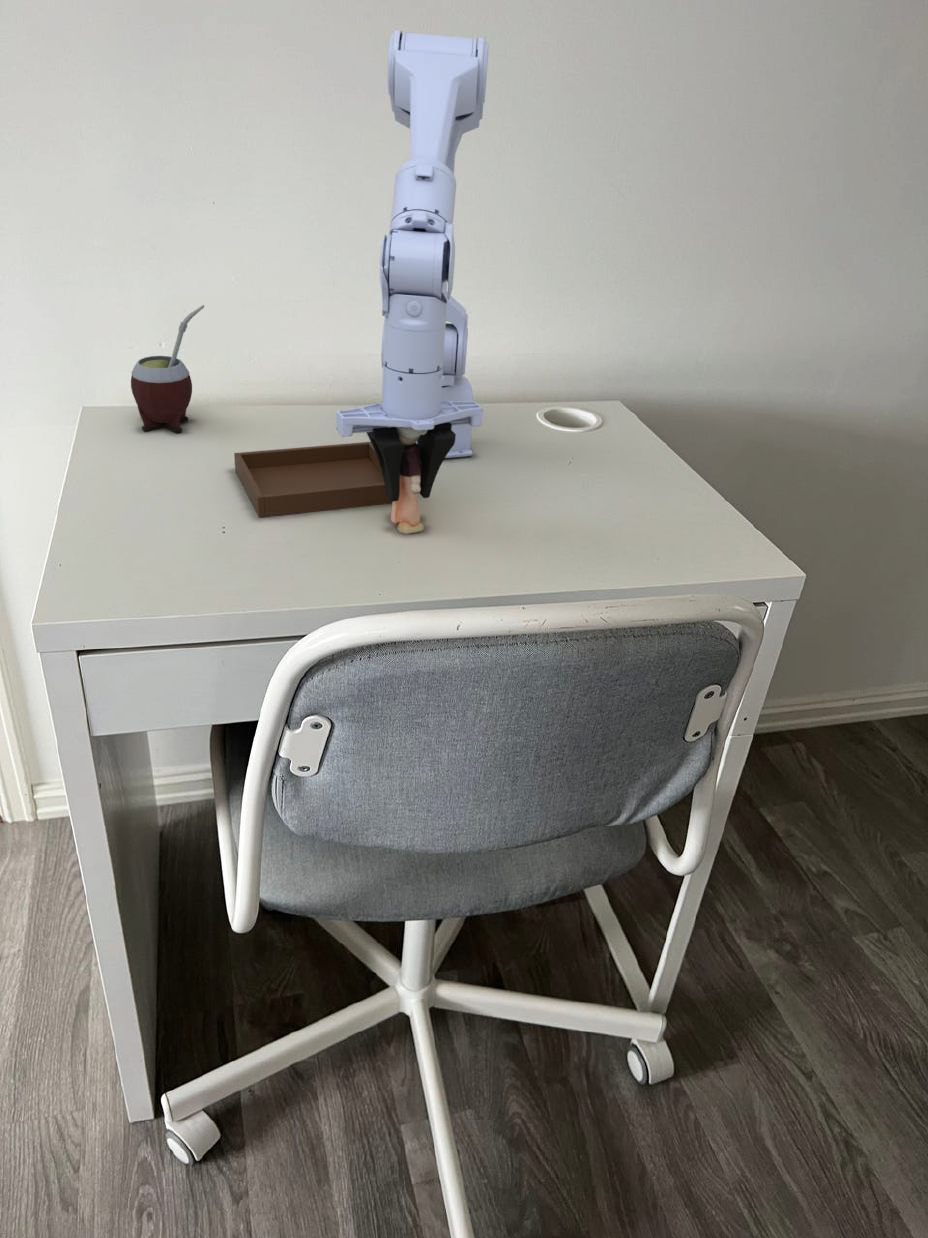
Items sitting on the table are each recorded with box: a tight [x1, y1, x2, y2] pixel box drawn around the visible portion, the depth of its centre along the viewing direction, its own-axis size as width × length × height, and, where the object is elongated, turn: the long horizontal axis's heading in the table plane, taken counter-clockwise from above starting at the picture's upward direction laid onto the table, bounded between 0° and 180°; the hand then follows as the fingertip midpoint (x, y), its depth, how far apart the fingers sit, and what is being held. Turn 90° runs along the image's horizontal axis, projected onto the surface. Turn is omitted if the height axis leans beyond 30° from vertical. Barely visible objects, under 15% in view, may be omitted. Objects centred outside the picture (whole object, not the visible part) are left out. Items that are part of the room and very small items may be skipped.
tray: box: [233, 441, 393, 518], centre depth 108 cm, size 16×12×2 cm
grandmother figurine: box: [390, 427, 428, 535], centre depth 98 cm, size 8×4×13 cm, turn 21°
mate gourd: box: [130, 304, 205, 434], centre depth 117 cm, size 8×8×15 cm
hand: (407, 495), depth 99 cm, fingers closed on grandmother figurine, 3 cm apart
